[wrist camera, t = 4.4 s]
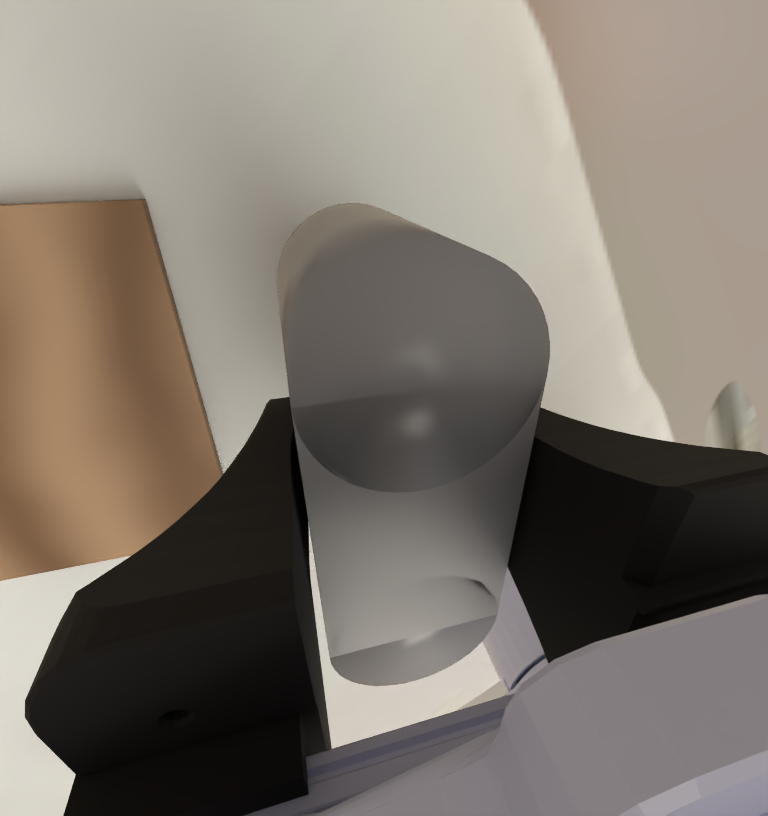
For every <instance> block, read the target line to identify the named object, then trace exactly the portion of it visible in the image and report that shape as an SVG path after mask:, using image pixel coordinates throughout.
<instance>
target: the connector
mask: <svg viewBox="0 0 768 816" xmlns="http://www.w3.org/2000/svg"><path fill="white" fill-rule="evenodd" d="M277 290H278V299H279V308H280V317H281V326H282V334H283V343H284V352H285V361H286V370H287V379H288V387H289V396H290V405H291V412H292V419H293V425H294V432H295V438H296V444H297V451H298V457H299V464H300V470H301V476H302V483H303V489H304V496H305V502H306V508H307V515H308V521H309V528H310V534H311V540H312V547H313V553H314V560H315V566H316V572H317V579H318V585H319V592H320V598H321V604H322V611H323V617H324V624H325V630H326V636H327V643H328V649H329V656H330V660H331V664H332V666H333V667H334V669H335V670H336V671H337V672H338V674H339V675H341V676H342V677H344V678H345V679H348V680H350V681H352V682H355V683H359V684H364V685H373V686H386V685H396V684H401V683H407V682H411V681H415V680H418V679H421V678H424V677H427V676H430V675H432V674H435V673H437V672H439V671H441V670H443V669H445V668H447V667H449V666H451V665H453V664H454V663H456V662H457V661H459V660H461V659H462V658H463V657H465V656H466V655H468V654H469V653H470V652H471V651H472V650H474V649H475V648H476V647H477V646H478V645H479V644H480V643H481V642H482V641H483V640H484V638H485V637H486V636H487V635H488V633H489V632H490V630H491V629H492V627H493V625H494V623H495V620H496V617H497V613H498V609H499V604H500V599H501V594H502V589H503V584H504V580H505V575H506V570H507V565H508V560H509V555H510V551H511V546H512V541H513V536H514V531H515V526H516V522H517V517H518V512H519V507H520V502H521V497H522V493H523V488H524V483H525V478H526V473H527V468H528V464H529V459H530V454H531V449H532V444H533V439H534V435H535V430H536V425H537V420H538V415H539V410H540V406H541V401H542V396H543V391H544V386H545V381H546V377H547V371H548V364H549V357H550V341H549V333H548V326H547V322H546V319H545V315H544V312H543V310H542V308H541V305H540V303H539V301H538V299H537V297H536V296H535V294H534V293H533V291H532V290H531V288H530V287H529V285H528V284H527V283H526V282H525V281H524V280H523V279H522V278H521V277H520V276H519V275H518V274H517V273H516V272H515V271H513V270H512V269H511V268H509V267H508V266H507V265H505V264H504V263H502V262H500V261H498V260H496V259H494V258H492V257H490V256H488V255H486V254H484V253H481V252H479V251H477V250H475V249H472V248H470V247H468V246H465V245H463V244H461V243H458V242H456V241H454V240H451V239H449V238H447V237H444V236H442V235H440V234H438V233H435V232H433V231H431V230H428V229H426V228H424V227H421V226H419V225H417V224H414V223H412V222H410V221H407V220H405V219H403V218H401V217H398V216H396V215H394V214H391V213H389V212H387V211H384V210H382V209H380V208H377V207H374V206H371V205H366V204H360V203H346V204H338V205H334V206H331V207H327V208H325V209H323V210H321V211H318V212H317V213H315V214H313V215H312V216H310V217H309V218H308V219H306V220H305V221H304V222H303V223H302V224H300V226H299V227H298V228H297V229H296V230H295V231H294V232H293V234H292V235H291V237H290V238H289V240H288V241H287V243H286V245H285V247H284V249H283V251H282V255H281V258H280V261H279V266H278V271H277Z"/></svg>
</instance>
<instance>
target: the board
mask: <svg viewBox="0 0 768 816" xmlns="http://www.w3.org/2000/svg"><path fill="white" fill-rule="evenodd" d="M222 475H223V472H222V469H221V465H220V462H219V458H218V455H217V451H216V447H215V444H214V440H213V437H212V433H211V430H210V426H209V423H208V419H207V416H206V412H205V409H204V405H203V401H202V398H201V394H200V391H199V387H198V384H197V380H196V377H195V373H194V370H193V366H192V363H191V359H190V355H189V352H188V348H187V345H186V341H185V338H184V334H183V331H182V327H181V324H180V320H179V317H178V313H177V310H176V306H175V302H174V299H173V295H172V292H171V288H170V285H169V281H168V278H167V274H166V271H165V267H164V264H163V260H162V256H161V253H160V249H159V246H158V242H157V239H156V235H155V232H154V228H153V225H152V221H151V218H150V214H149V211H148V207H147V203H146V200H145V199H136V200H110V201H83V202H56V203H30V204H3V205H0V581H2V580H7V579H12V578H17V577H22V576H27V575H33V574H38V573H43V572H48V571H53V570H58V569H64V568H69V567H74V566H79V565H84V564H89V563H95V562H100V561H105V560H110V559H115V558H120V557H125V556H131V555H133V554H135V553H136V552H138V551H139V550H140V549H142V548H143V547H144V546H146V545H147V544H148V543H150V542H151V541H152V540H154V539H155V538H156V537H158V536H159V535H160V534H161V533H163V532H164V531H165V530H166V529H168V528H169V527H170V526H171V525H172V524H174V523H175V522H176V521H177V520H178V519H180V518H181V517H182V516H183V515H184V514H185V513H186V512H187V511H188V510H189V509H190V508H191V507H193V506H194V505H195V504H196V503H197V502H198V501H199V500H200V499H201V498H202V497H203V496H204V495H205V494H206V493H207V492H208V491H209V490H210V489H211V488H212V487H213V486H214V485H215V483H216V482H217V481H218V480H219V479H220V478H221V476H222Z"/></svg>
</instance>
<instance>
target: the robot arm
mask: <svg viewBox="0 0 768 816" xmlns="http://www.w3.org/2000/svg"><path fill="white" fill-rule="evenodd" d="M483 644H484V646H485V648H486V650H487V652H488V655H489V657H490V659H491V661H492V663H493V666H494V668H495V670H496V672H497V674H498V677H499V679H500V681H501V683H502V685H503V687H504V690H505V692H506V695H504V696H503V697H501V698H498V699H494V700H491V701H488V702H485V703H482V704H478V705H475V706H472V707H468V708H465V709H462V710H458V711H455V712H452V713H448V714H445V715H442V716H439V717H435V718H432V719H429V720H425V721H422V722H419V723H416V724H412V725H409V726H406V727H402V728H399V729H396V730H393V731H389V732H386V733H383V734H380V735H376V736H373V737H370V738H366V739H363V740H360V741H357V742H353V743H350V744H347V745H343V746H340V747H337V748H334V749H331V741H330V733H329V725H328V717H327V709H326V702H325V694H324V686H323V678H322V670H321V662H320V654H319V646H318V638H317V629H316V621H315V613H314V605H313V597H312V588H311V580H310V566H309V529H308V515H307V508H306V502H305V496H304V489H303V483H302V476H301V470H300V464H299V457H298V451H297V444H296V438H295V432H294V425H293V419H292V412H291V405H290V397H287V398H279V399H272V400H269V402H268V403H267V404H266V406H265V409H264V411H263V413H262V415H261V417H260V419H259V421H258V423H257V425H256V427H255V429H254V430H253V432H252V434H251V435H250V437H249V439H248V440H247V442H246V444H245V445H244V447H243V448H242V450H241V451H240V452H239V454H238V455H237V457H236V458H235V459H234V461H233V462H232V464H231V465H230V466H229V468H228V469H227V470H226V471H225V473H224V474H223V475H222V476H221V478H220V479H219V480H218V481H217V482H216V483H215V485H214V486H213V487H212V488H211V489H210V490H209V491H208V492H207V493H206V494H205V495H204V496H203V497H202V498H201V499H200V500H199V501H198V502H197V503H196V504H195V505H194V506H193V507H191V508H190V509H189V510H188V511H187V512H186V513H185V514H184V515H183V516H182V517H181V518H180V519H178V520H177V521H176V522H175V523H174V524H172V525H171V526H170V527H169V528H168V529H166V530H165V531H164V532H163V533H161V534H160V535H159V536H158V537H156V538H155V539H154V540H152V541H151V542H150V543H148V544H147V545H146V546H144V547H143V548H142V549H140V550H139V551H138V552H136V553H135V554H133V555H132V556H131V557H129V558H128V559H126V560H125V561H123V562H122V563H120V564H119V565H117V566H116V567H114V568H113V569H111V570H109V571H108V572H106V573H105V574H103V575H102V576H100V577H99V578H97V579H96V580H94V581H93V582H91V583H90V584H88V585H87V586H85V587H83V588H82V589H80V590H79V591H77V592H76V593H75V595H74V597H73V599H72V601H71V603H70V605H69V606H68V608H67V610H66V612H65V613H64V615H63V617H62V619H61V621H60V623H59V625H58V627H57V629H56V631H55V633H54V635H53V638H52V640H51V642H50V644H49V647H48V649H47V651H46V654H45V656H44V658H43V660H42V663H41V665H40V667H39V670H38V672H37V674H36V677H35V679H34V681H33V684H32V686H31V688H30V690H29V693H28V695H27V697H26V700H25V718H26V720H27V721H28V723H29V724H30V726H31V728H32V729H33V731H34V732H35V734H36V735H37V736H38V737H39V738H40V739H41V740H42V741H43V742H44V743H45V744H46V745H47V746H48V747H49V748H50V749H51V750H52V751H53V752H54V753H55V754H56V755H57V756H58V757H59V758H60V759H61V760H62V761H63V762H64V763H65V764H66V765H67V766H68V767H69V768H70V769H71V770H72V771H73V772H74V773H75V774H76V776H75V779H74V783H73V786H72V789H71V793H70V796H69V799H68V803H67V806H66V809H65V813H64V816H768V455H766V454H763V453H761V452H753V451H743V450H733V449H723V448H713V447H703V446H695V445H688V444H681V443H675V442H668V441H662V440H657V439H651V438H646V437H640V436H636V435H631V434H627V433H623V432H618V431H614V430H609V429H606V428H602V427H598V426H594V425H591V424H588V423H584V422H581V421H578V420H574V419H571V418H568V417H565V416H562V415H559V414H556V413H554V412H551V411H548V410H546V409H543V408H540V410H539V415H538V420H537V425H536V430H535V435H534V439H533V444H532V449H531V454H530V459H529V464H528V468H527V473H526V478H525V483H524V488H523V493H522V497H521V502H520V507H519V512H518V517H517V522H516V526H515V531H514V536H513V541H512V546H511V551H510V555H509V560H508V565H507V570H506V575H505V580H504V584H503V589H502V594H501V599H500V604H499V609H498V613H497V617H496V620H495V623H494V625H493V627H492V629H491V630H490V632H489V633H488V635H487V636H486V637H485V638H484V640H483Z"/></svg>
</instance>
